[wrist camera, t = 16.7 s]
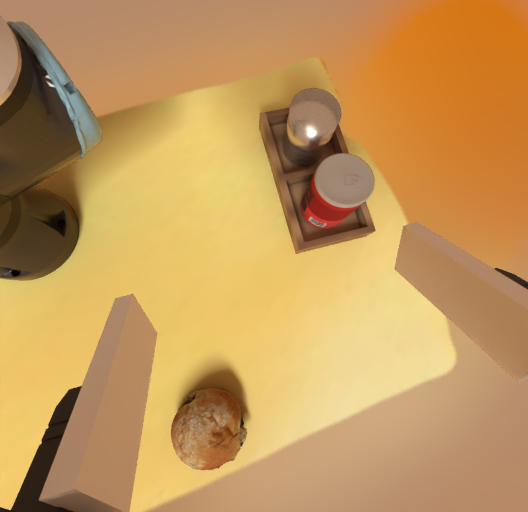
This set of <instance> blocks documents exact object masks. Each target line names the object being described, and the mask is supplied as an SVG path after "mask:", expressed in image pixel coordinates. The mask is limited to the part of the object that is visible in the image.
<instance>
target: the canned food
mask: <svg viewBox="0 0 528 512" xmlns="http://www.w3.org/2000/svg"><path fill="white" fill-rule="evenodd" d="M373 188H374V175H373V172H372V170H371V168H370V167H369V165H368V164H367V163H366V162H365V161H363V160H362V159H361V158H359V157H357V156H355V155H352V154H347V153H338V154H334V155H331V156H329V157H327V158H326V159H324V160H323V161H322V163H321V164H320V165H319V166H318V168H317V170H316V172H315V173H314V175H313V177H312V179H311V181H310V183H309V185H308V187H307V190H306V192H305V194H304V196H303V198H302V200H301V206H300V207H301V213H302V215H303V217H304V219H305V220H306V221H307V222H308V223H309V224H310V225H312V226H314V227H316V228H322V229H326V228H332V227H334V226H336V225H338V224H339V223H340V222H342V221H343V220H344V219H345V218H346V217H348V216H349V215H350V214H351V213H352V212H353V211H355V210H356V209H357V208H358V207H359V206H360V205H362V204H363V203H364V202H365V201H366V200H367V199H368V197H369V196H370V195H371V193H372V191H373Z"/></svg>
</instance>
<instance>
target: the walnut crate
mask: <svg viewBox="0 0 528 512" xmlns="http://www.w3.org/2000/svg"><path fill="white" fill-rule="evenodd" d="M289 110H290V108H287V109H281V110H276V111H271V112H266V113H260V122H259V128H260V132H261V135H262V139H263V142H264V146H265V149H266V152H267V156H268V159H269V163H270V166H271V170H272V173H273V177H274V180H275V183H276V187H277V190H278V194H279V197H280V201H281V204H282V208H283V211H284V214H285V218H286V221H287V225H288V228H289V232H290V235H291V239H292V242H293V246H294V249H295V252H296V254H298V253H302V252H306V251H310V250H314V249H317V248H321V247H325V246H329V245H333V244H337V243H341V242H345V241H349V240H353V239H357V238H361V237H365V236H367V235H369V234H371V233H373V232H374V231H376V230H375V227H374V225H373V222H372V219H371V216H370V213H369V210H368V207H367V205H366V202H364V203H363V204H362V205H360V206H359V207H358V208H357V209H356V210H355V211H353V212H352V213H351V214H350V215H349V216H348V217H346V218H345V219H344V220H343V221H342V222H340V223H339V224H338V225H336V226H334V227H332V228H326V229H322V228H316V227H314V226H312V225H310V224H309V223H308V222H307V221H306V220H305V219H304V217H303V215H302V213H301V207H300V206H301V200H302V198H303V196H304V194H305V192H306V190H307V187H308V185H309V183H310V181H311V179H312V177H313V175H314V173H315V172H316V170H317V168H318V166H319V165H320V164H321V163H322V161H323V160H324V159H326V158H327V157H329V156H331V155H334V154H338V153H347V154H349V153H348V150H347V147H346V144H345V142H344V139H343V136H342V133H341V130H340V127H339V124H338V125H337V127H336V129H335V131H334V133H333V135H332V137H331V139H330V141H329V143H328V145H327V147H326V149H325V151H324V153H323V155H322V157H321V159H320V160H319V161H318V162H317V163H316V164H314V165H311V166H308V167H301V166H297V165H294V164H293V163H291V162H290V161H289V160H288V159H287V158H286V157H285V155H284V153H283V149H282V144H283V139H284V134H285V129H286V125H287V120H288V115H289Z"/></svg>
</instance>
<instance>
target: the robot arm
mask: <svg viewBox="0 0 528 512" xmlns="http://www.w3.org/2000/svg"><path fill="white" fill-rule="evenodd" d="M102 136H103V133H102V128H101V126H100V124H99V122H98V120H97V118H96V116H95V115H94V113H93V111H92V110H91V108H90V107H89V105H88V104H87V102H86V100H85V99H84V98H83V96H82V95H81V93H80V92H79V90H78V89H77V88H76V87H75V86H74V84H73V82H72V81H71V79H70V78H69V76H68V75H67V73H66V71H65V70H64V69H63V67H62V66H61V64H60V63H59V62H58V60H57V59H56V58H55V56H54V55H53V54H52V52H51V51H50V50H49V48H48V47H47V46H46V44H45V43H44V42H43V41H42V39H41V38H40V37H39V36H38V35H37V33H36V32H35V31H34V30H33V29H32V28H31V27H30V26H29V25H27V24H26V23H24V22H7V23H6V22H5V21H4V20H3V19H2V17H1V16H0V278H1V279H9V280H20V281H24V280H33V279H37V278H40V277H43V276H45V275H48V274H49V273H51V272H53V271H54V270H56V269H57V268H59V267H60V266H61V265H62V264H63V263H64V262H65V261H66V260H67V259H68V257H69V256H70V255H71V253H72V251H73V249H74V247H75V245H76V242H77V238H78V221H77V217H76V215H75V213H74V211H73V209H72V208H71V206H70V205H69V204H68V203H67V202H66V201H65V200H63V199H62V198H61V197H59V196H57V195H55V194H53V193H51V192H50V191H48V190H45V189H42V188H39V187H35V185H36V184H38V183H40V182H41V181H43V180H45V179H46V178H48V177H49V176H51V175H53V174H54V173H56V172H58V171H59V170H61V169H63V168H64V167H66V166H68V165H69V164H71V163H73V162H74V161H76V160H78V159H79V158H83V157H84V156H85V154H86V152H88V151H89V150H91V149H92V148H93V147H95V146H96V145H97V144H99V143H100V142H101V140H102ZM395 270H396V271H397V272H398V273H399V274H401V275H402V276H403V277H404V278H405V279H406V280H407V281H408V282H409V283H410V284H411V285H413V286H414V287H415V288H416V289H417V290H418V291H419V292H420V293H421V294H422V295H423V296H425V297H426V298H427V299H428V300H429V301H430V302H431V303H432V304H433V305H434V306H435V307H437V308H438V309H439V310H440V311H441V312H442V313H443V314H444V315H445V316H446V317H447V318H449V319H450V320H451V321H452V322H453V323H454V324H455V325H456V326H457V327H458V328H459V329H461V330H462V331H463V332H464V333H465V334H466V335H467V336H468V337H469V338H470V339H471V340H473V341H474V342H475V343H476V344H477V345H478V346H479V347H480V348H481V349H482V350H483V351H485V352H486V353H487V354H488V355H489V356H490V357H491V358H492V359H493V360H494V361H496V362H497V363H498V364H499V365H500V366H501V367H502V368H503V369H505V371H506V372H507V373H509V374H510V375H511V376H512V377H513V378H514V379H515V380H516V381H517V382H521V381H524V380H527V379H528V282H526V281H525V280H522V279H521V278H519V277H517V276H516V275H514V274H512V273H509V272H506V271H504V270H501V269H498V268H495V269H493V268H491V267H490V266H488V265H486V264H485V263H483V262H482V261H480V260H478V259H477V258H475V257H473V256H472V255H470V254H469V253H467V252H465V251H464V250H462V249H460V248H459V247H457V246H455V245H454V244H452V243H451V242H449V241H447V240H446V239H444V238H442V237H441V236H439V235H437V234H436V233H434V232H432V231H431V230H429V229H427V228H426V227H424V226H422V225H421V224H419V223H418V222H417V223H413V224H409V225H405V226H403V230H402V235H401V240H400V245H399V249H398V254H397V259H396V264H395ZM156 338H157V332H156V330H155V329H154V327H153V325H152V324H151V322H150V321H149V319H148V317H147V316H146V314H145V312H144V311H143V309H142V308H141V306H140V304H139V303H138V301H137V300H136V298H135V296H134V295H133V294H131V295H127V296H123V297H120V298H116V299H115V301H114V303H113V306H112V309H111V311H110V314H109V316H108V319H107V322H106V324H105V327H104V330H103V332H102V335H101V338H100V340H99V343H98V345H97V348H96V351H95V353H94V356H93V359H92V361H91V364H90V366H89V369H88V372H87V374H86V377H85V380H84V382H83V385H82V386H80V387H76V388H73V389H69V391H68V392H67V393H66V394H65V396H64V397H63V398H62V400H61V401H60V402H59V404H58V405H57V406H56V408H55V411H54V413H53V415H52V418H51V420H50V422H49V424H48V426H49V428H48V429H46V431H45V434H44V436H43V438H42V440H41V441H42V444H41V445H39V447H38V450H37V452H36V454H35V457H34V459H33V461H32V463H31V466H30V468H29V470H28V473H27V475H26V477H25V479H24V482H23V484H22V486H21V489H20V491H19V493H18V496H17V498H16V500H15V502H14V505H13V507H12V509H11V510H7V509H4V508H1V507H0V512H129V511H130V504H131V498H132V491H133V485H134V479H135V472H136V466H137V460H138V453H139V447H140V440H141V434H142V428H143V421H144V415H145V408H146V402H147V396H148V389H149V383H150V376H151V370H152V364H153V357H154V351H155V344H156Z"/></svg>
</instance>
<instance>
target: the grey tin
mask: <svg viewBox="0 0 528 512" xmlns="http://www.w3.org/2000/svg"><path fill="white" fill-rule="evenodd" d="M340 118H341V108H340V105H339V103H338V101H337V100H336V98H335V97H334V96H333V95H331V94H330V93H328V92H327V91H324V90H322V89H317V88H310V89H306V90H303V91H301V92H299V93H298V94H297V95H296V96H295V97H294V98H293V100H292V102H291V105H290V110H289V115H288V120H287V125H286V129H285V134H284V139H283V144H282V149H283V153H284V155H285V157H286V158H287V159H288V160H289V161H290V162H291V163H293V164H294V165H297V166H301V167H308V166H311V165H314V164H316V163H317V162H318V161H319V160H320V159H321V157H322V155H323V153H324V151H325V149H326V147H327V145H328V143H329V141H330V139H331V137H332V135H333V133H334V131H335V129H336V127H337V125H338V123H339V121H340Z"/></svg>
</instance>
